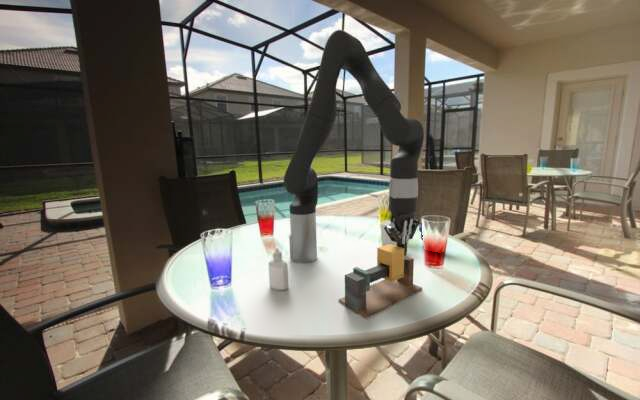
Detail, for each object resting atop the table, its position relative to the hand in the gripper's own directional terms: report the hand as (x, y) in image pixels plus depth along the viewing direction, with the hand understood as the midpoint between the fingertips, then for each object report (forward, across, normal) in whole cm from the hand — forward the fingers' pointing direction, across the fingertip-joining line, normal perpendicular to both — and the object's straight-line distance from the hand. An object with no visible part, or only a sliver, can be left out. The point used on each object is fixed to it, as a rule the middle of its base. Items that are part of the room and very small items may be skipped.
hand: (401, 255), depth 82 cm
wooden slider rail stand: (+9, +8, 0) cm, 13 cm away
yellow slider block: (+5, +5, 0) cm, 7 cm away
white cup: (+10, -24, -23) cm, 34 cm away
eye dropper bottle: (+10, +27, -22) cm, 36 cm away
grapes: (+10, -34, -13) cm, 37 cm away
